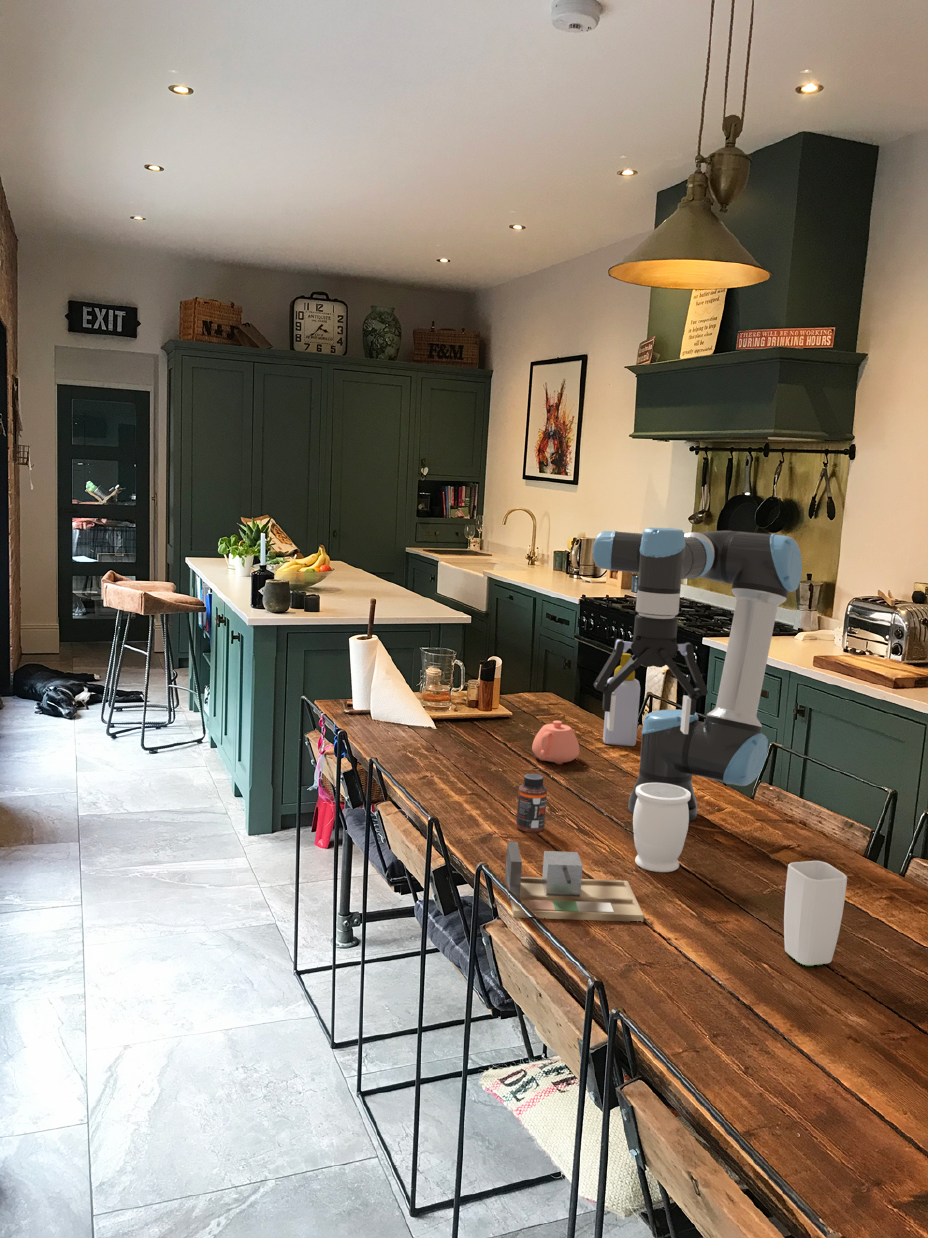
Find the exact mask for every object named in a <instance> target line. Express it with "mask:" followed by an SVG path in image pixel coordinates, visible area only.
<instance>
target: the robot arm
mask: <svg viewBox="0 0 928 1238" xmlns="http://www.w3.org/2000/svg"><path fill="white" fill-rule="evenodd" d="M592 559H593V562H594V564H595V565H596V566H597V568H599V569H602V570H609V571H612V572H614V571H615V572H616V571H617V572H625V573H635V574H638V582H637V593H636V603H635V612H636V613H637V614H636V615H634V627H633V637H632V640H631V641H626V640H625V641H624V640H622V639H621V638H616V639H615V641H614V646H613V650H612V652H611V654H610V656H609V657H608V659H607V661H606V663H605V664H604V666H603V668H602V669H601V671H600V672H599V674H598V676H597V677H596V679H595V681H594V682H593V686H594V688H595V690H596V691H598V692H602V694H603V695H602V710H603V711H604V713H605V712H608V714H607V728H608V730H609V731H613V728H614V715H615V702H616V695H615V694H614V693H613V692H614V691H615V689H616V688H617V687H618V686H619V685H620V684H621V683H622V682H623V681H624V680H625V679H626V678H627V677H628V676H629V675H630V674H631V673H632V672H633V671H635V670H637V669H638V668H640V666H643V667H646V668H651V667H656V668H663V667H665V666H667V668H668V669H669V670H670V671H671V673H672V674H673V676H674V677H675V679H676V680H677V681H678V682H679V684H680V685H681V686H682V688H683V689H684V691H685V692H686V694H687V695H684V694H683V696H682V704H681V705H682V706H681V709H660V710H654V711H651V712H649V713H647V714H646V715H645V717H644V718H643V725H642V729H641V740H640V741H641V742H640V743H641V744H640V755H639V756H640V757H639V768H638V769H639V770H638V772H639V773H638V777H637V780H636V781H635V784H634V787H633V789H632V791H631V793H630V796H629V797H628V805H627V806H628V808H627V809H628V811H629V812H630V813H631V814H632V815H633V814H634V808H635V804H636V800H637V798H638V796H637V795H636V792H635V791H636V787H637V786H638V785H640V784H644V783H666V784H672V785H676V786H680V787H682V788H685V789H687V790H688V791H689V792H690V793H691V798H690V800H689V801H688V802H687V803H688V809H689V823H690V822H693V821H694V820H696V819H697V818H698V817H697V816H698V804H697V798H696V794H695V791H694V787H693V776H698V777H700V778H701V777H702V778H705V779H709V780H713V781H717V782H721V783H724V784H725V785H735V786H740V787H746V786H749V785H750V784H752V783H753V782H754V781H755V780H756V779H757V778H758V776H759V774H760V773H761V771H762V769H763V766H764V764H765V762H766V758H767V756H768V749H769V747H768V745H769V740H768V738H767V736H766V735H764V733H762V728H763V725H762V723H761V722H760V720H759V719H758V717H757V714H758V709H759V704H760V700H761V699H760V698H761V695H762V694H761V693H762V687H763V683H764V678H765V673H766V667H767V663H768V658H769V652H770V648H771V642H772V637H773V632H774V627H775V622H776V621H775V620H776V617H777V611H778V608H779V606H780V605H782V604H783V603H785V602H786V601H787V598H788V594H789V593H792V592H795V591H796V590H797V589H798V588H799V587H800V586H799V585H800V584H801V580H802V572H803V562H802V559H803V558H802V553H801V550H800V546H799V544H798V542H797V541H796V540H795V539H794V538H793V537H791V536H787V535H780V534H776V533H764V532H763V533H762V532H751V531H750V532H749V531H737V530H735V531H734V530H713V531H712V530H711V531H702V532H698V531H697V532H696V531H695V532H694V531H692V532H688V533H685V532H684V531H683V530H682V529H679V528H669V527H646V528H645V529H644V530H643V531H642V533H640V532H639V533H638V532H628V531H627V532H625V531H617V530H604V531H601V532H599V533H598V534H597V536H596V538H595V539H594V542H593V545H592ZM698 578H700V579H705V580H709V581H713V582H717V583H723V584H728V585H730V584H731V590H730V591H731V593H732V594H733V596H734V597H735V599H736V601H735V607H734V613H733V616H732V622H731V628H730V633H729V638H728V643H727V647H726V652H725V657H724V664H723V668H722V672H721V678H720V683H719V688H718V694H717V699H716V703H715V707H714V709H712V710H711V711H709V712H708V713H706V718H705V721H699V716H698V713H697V712H696V709H697V700H698V699H699V698H700V697H701V696H707V695H708V694H709V693H708V692H709V691H708V688H707V685H706V683H705V681H704V678H703V676H702V673H701V671H700V669H699V666H698V663H697V661H696V658H695V656H694V655H695V654H694V653H695V652H694V651H695V650H694V649H695V648H694V645H693V644H692V643H690V642H689V641H686V642H685V641H684V643H677V635H678V634H677V633H678V622H679V619H678V617H676V616H677V615H678V614H679V612H680V596H681V586H682V580H688V579H690V580H691V579H692V580H693V579H698ZM629 649H630V650H631V652H632V653H633V655H631V658H630V659H629V661H628V662H627V663H626V665H625V666H624V667H623V668H622V669H621V670H620V671H619V672H618V673H617V674H616V675H615V676H614V675H613V676H612V677H613V678H612V677H610V676H611V675H612V674H613V672H614V671H615V669H616V668H617V665H618V663H619V662H620V661H621V656H622V654H623V653H627V651H628V650H629ZM678 651H679V653H680V655H682V656H683V657H684V659H685V662H686V664H687V666H688V669H689V671H690V675H691V677H692V679H693V682H694V685H695V686H696V687H695V688H694V687H693V686H692V684H691V682H689V680H688V679H687V678H686V677H685V675H684V673H683V672H682V671H681V669H680V667H679V666H678V665H677V664H676V662H675V661H674V660H673V658H674V656H676V654H677V653H678ZM609 678H612V679H611V680H610V681H609V682H608V683H607V681H608V679H609Z"/></svg>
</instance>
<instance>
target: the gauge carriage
mask: <svg viewBox="0 0 928 1238" xmlns="http://www.w3.org/2000/svg"><path fill="white" fill-rule="evenodd" d="M542 861H543V864H542V876H541V878H542V885H543V889H544V892H545V895H546V896H574V897H580V894H581V880H582V879H583V862H582V860H581V858H580V855H579V852H577V851H558V850H557V851H555V850H554V851H553V850H551V851H550V850H549V851H548V850H544V851H543V860H542Z"/></svg>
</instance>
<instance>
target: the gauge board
mask: <svg viewBox="0 0 928 1238" xmlns="http://www.w3.org/2000/svg"><path fill="white" fill-rule="evenodd" d="M522 864H523V860H522V856H521V851H520V847H519V843H518V841H507V844H506V859H505V872H504V873H505V874H504V880H505V884H507V886H508V887H509V889H510V891H511V892H512V893H513V894H514V895H515V896H516V897H518V898H519V899H520V900H521V901H522V902H524V904H525V905H526V906H527V907H528V908H529V909H530V910H531V911H532V912H533V913H534V914H536V915H537V916H538V917H539V918H538V919H544V918H545V920H546V919H550V920H551V919H552V920H576V921H578V920H579V921H580V920H581V921H600V922H601V921H605V922H606V921H607V922H609V921H610V922H630V921H637V923H639V922H638V921H641V922H640V923H643V922H644V918H645V917H644V916H645V915H644V913H643V911H642V909H641V907H640V904H639V902H638V901H637V898H636V895H635V894H634V891H633V890H632V887H631V885H630V883H629V881H628V880H619V879H618V880H616V879H615V880H614V879H591V878H590V879H587V878H582V880H581V894H580V897H574V896H546V895H545V892H544V889H543V885H542V877H539V876H538V877H537V876H536V877H534V876H532V877H531V876H522V866H523V865H522ZM507 886H506V887H507ZM507 897H508V901H510V907H511V912H512V917H513V918H518V919H520V918H521V919H523V918H524V919H530V918H529V917H528V916H527V915H526V914H525V911H524V910H523V909H522V908H521V907H520V906H519V905H518V904H516V903H515V902H514V901H513V900H512V899H511V898H510V895H508V894H507Z"/></svg>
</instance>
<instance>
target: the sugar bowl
mask: <svg viewBox="0 0 928 1238" xmlns="http://www.w3.org/2000/svg"><path fill="white" fill-rule="evenodd" d="M531 749H532V752H533V754H534V755H535V757H536V758H537V759H538V760H539V761H545V762H549V763H550V762H551V763H555V764H556V765H563V764H564V763H568V762H572V761H573V760H575V759H576V758H577V757H578V756H579V755H580V745H579V741H578V738H577V736H576V734H575V732H574V730H573V729H572V727H571V726H569V725H567V724H563V721H561V720H553V721H552V723H547V724H544V725H542V727H541V728H540V729H539V731H538V732H537V734H536V735H535V736H534V739H533V742H532V747H531Z"/></svg>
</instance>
